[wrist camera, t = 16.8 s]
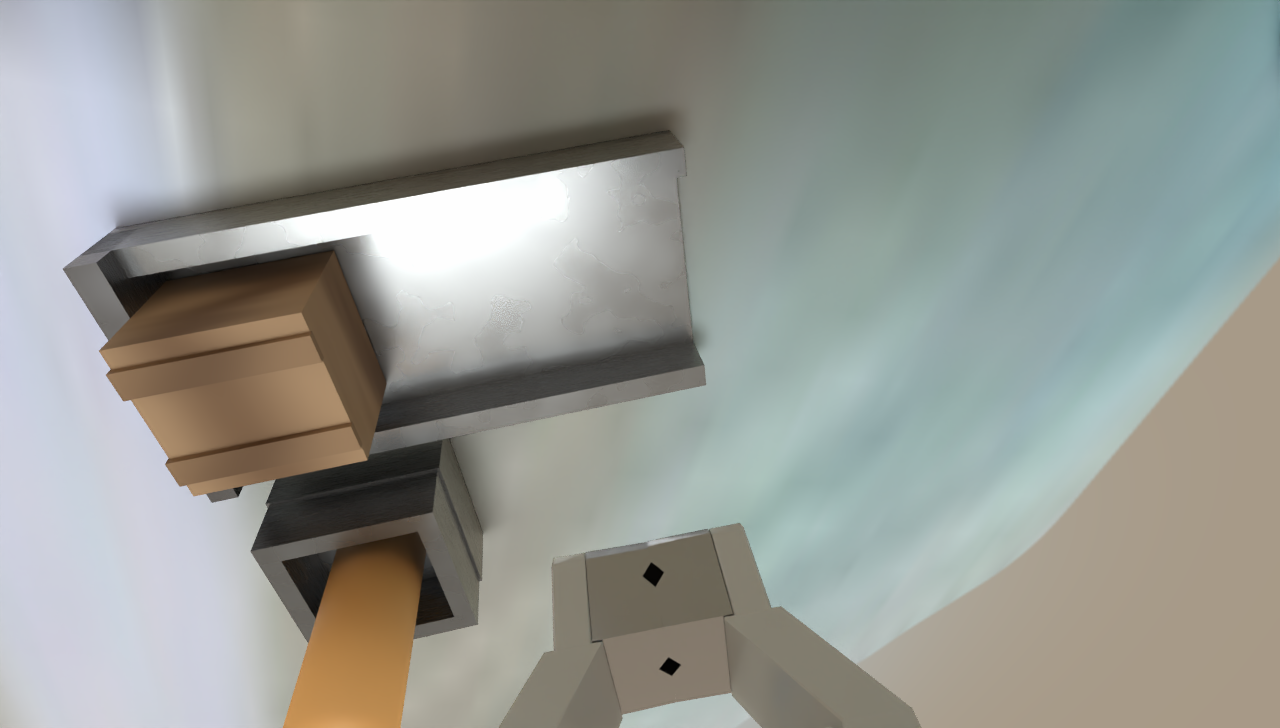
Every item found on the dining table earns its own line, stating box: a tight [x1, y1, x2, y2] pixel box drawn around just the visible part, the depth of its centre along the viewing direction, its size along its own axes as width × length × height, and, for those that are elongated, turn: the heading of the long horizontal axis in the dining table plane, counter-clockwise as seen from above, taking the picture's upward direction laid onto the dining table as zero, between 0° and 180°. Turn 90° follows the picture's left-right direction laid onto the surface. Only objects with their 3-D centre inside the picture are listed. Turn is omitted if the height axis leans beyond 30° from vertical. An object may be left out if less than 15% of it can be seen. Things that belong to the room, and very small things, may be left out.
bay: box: [63, 130, 706, 502], centre depth 26 cm, size 20×10×4 cm, turn 97°
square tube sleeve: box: [251, 438, 483, 643], centre depth 30 cm, size 7×7×6 cm
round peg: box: [283, 532, 426, 728], centre depth 26 cm, size 4×4×9 cm
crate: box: [99, 250, 387, 496], centre depth 25 cm, size 6×6×5 cm
